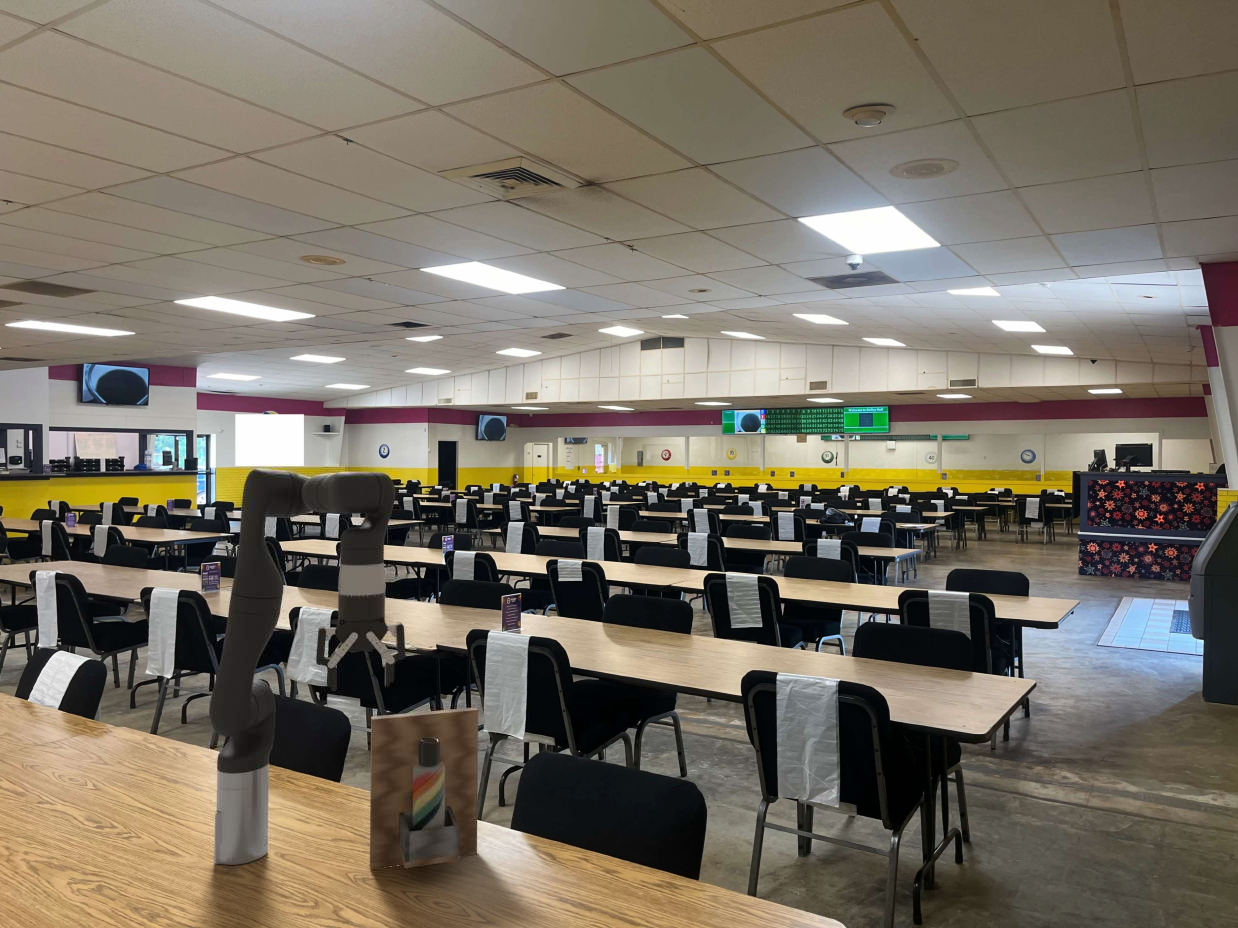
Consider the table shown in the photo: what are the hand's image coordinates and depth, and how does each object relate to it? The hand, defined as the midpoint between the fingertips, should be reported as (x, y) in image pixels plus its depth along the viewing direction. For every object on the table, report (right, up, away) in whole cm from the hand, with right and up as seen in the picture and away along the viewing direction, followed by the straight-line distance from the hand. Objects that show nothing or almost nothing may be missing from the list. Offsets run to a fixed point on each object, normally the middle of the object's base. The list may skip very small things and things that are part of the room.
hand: (360, 687), depth 141 cm
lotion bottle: (+8, -34, +14) cm, 37 cm away
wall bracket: (+8, -39, +16) cm, 42 cm away
